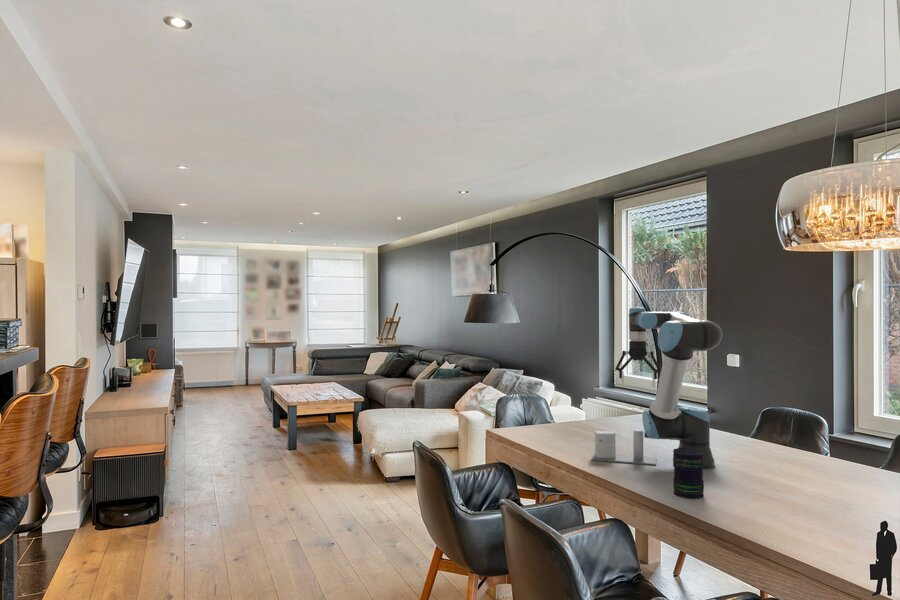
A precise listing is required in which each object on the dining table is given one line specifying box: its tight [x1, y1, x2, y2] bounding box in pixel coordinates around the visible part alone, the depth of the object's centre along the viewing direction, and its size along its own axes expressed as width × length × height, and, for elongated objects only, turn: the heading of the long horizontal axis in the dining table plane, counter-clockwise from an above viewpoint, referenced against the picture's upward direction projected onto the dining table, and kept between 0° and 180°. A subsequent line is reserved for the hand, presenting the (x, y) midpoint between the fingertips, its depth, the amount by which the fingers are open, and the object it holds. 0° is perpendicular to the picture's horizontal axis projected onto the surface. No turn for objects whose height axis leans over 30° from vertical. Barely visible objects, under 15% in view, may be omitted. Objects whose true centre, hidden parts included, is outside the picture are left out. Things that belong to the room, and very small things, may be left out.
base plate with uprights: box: [590, 429, 657, 466], centre depth 248 cm, size 26×12×13 cm, turn 71°
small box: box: [594, 430, 617, 458], centre depth 250 cm, size 8×6×10 cm
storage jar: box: [672, 447, 705, 500], centre depth 200 cm, size 10×10×15 cm
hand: (638, 386), depth 270 cm, fingers open, 13 cm apart
